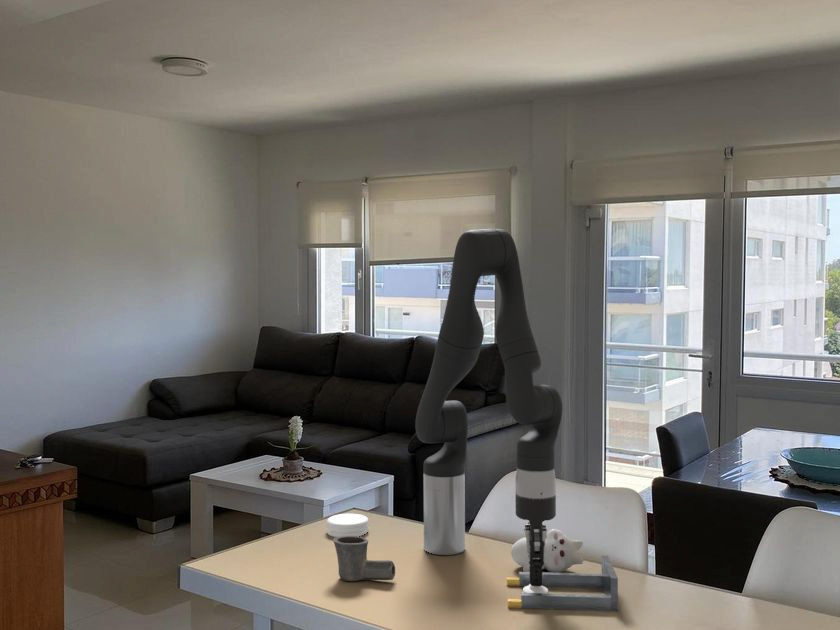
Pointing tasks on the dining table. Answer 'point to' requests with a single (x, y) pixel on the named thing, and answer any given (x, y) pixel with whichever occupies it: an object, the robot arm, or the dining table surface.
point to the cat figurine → (550, 552)
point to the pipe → (360, 561)
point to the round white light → (347, 525)
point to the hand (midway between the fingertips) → (535, 582)
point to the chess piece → (535, 588)
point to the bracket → (570, 601)
